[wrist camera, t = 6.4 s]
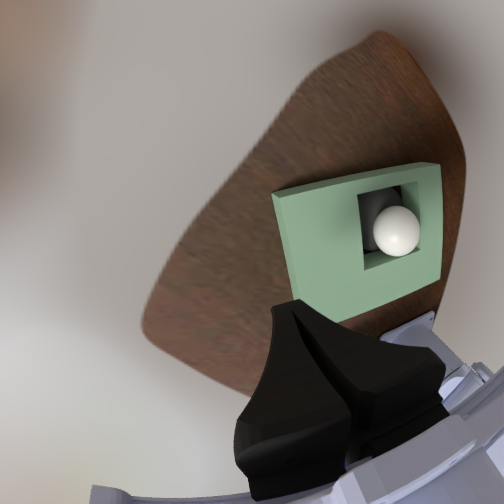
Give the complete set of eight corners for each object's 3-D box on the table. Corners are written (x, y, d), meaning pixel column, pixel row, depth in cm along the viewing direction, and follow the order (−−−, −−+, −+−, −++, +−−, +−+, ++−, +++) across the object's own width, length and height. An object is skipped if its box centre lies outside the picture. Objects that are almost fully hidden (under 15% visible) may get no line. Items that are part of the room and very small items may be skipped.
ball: (407, 269, 17) (361, 250, 20) (414, 257, 20) (375, 241, 23) (423, 217, 16) (373, 200, 18) (427, 213, 19) (386, 198, 21)
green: (424, 269, 24) (439, 278, 22) (297, 316, 23) (305, 333, 21) (421, 161, 20) (440, 164, 18) (271, 192, 19) (279, 198, 17)
